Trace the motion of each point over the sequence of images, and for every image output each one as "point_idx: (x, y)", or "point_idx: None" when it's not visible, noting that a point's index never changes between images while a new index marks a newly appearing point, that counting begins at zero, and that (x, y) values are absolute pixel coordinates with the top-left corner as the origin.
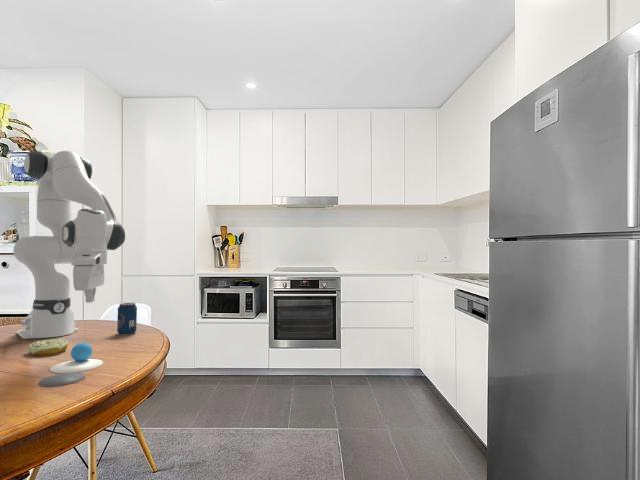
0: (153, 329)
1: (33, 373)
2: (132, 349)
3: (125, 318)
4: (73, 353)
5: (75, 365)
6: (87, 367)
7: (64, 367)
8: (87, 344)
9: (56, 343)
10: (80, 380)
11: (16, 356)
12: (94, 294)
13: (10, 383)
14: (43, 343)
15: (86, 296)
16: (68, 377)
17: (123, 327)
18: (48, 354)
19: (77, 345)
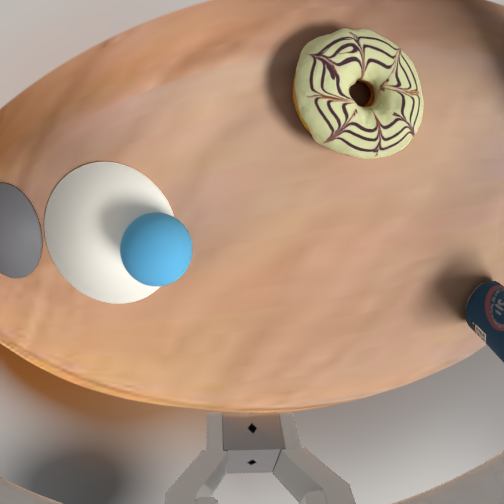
0: (476, 350)
1: (64, 130)
2: (272, 355)
3: (495, 329)
4: (126, 229)
5: (105, 233)
6: (80, 271)
7: (91, 205)
8: (147, 281)
9: (333, 122)
10: (2, 272)
11: (324, 7)
12: (283, 483)
13: (4, 115)
14: (374, 72)
15: (200, 459)
16: (12, 243)
17: (480, 309)
18: (293, 101)
19: (132, 249)
